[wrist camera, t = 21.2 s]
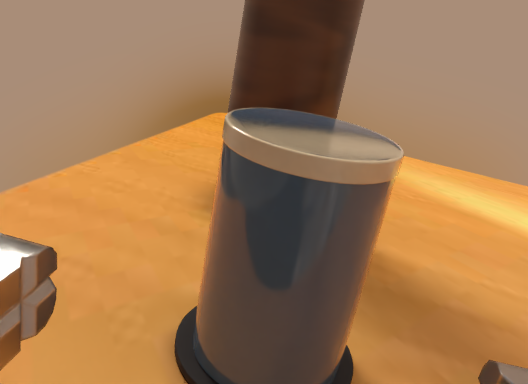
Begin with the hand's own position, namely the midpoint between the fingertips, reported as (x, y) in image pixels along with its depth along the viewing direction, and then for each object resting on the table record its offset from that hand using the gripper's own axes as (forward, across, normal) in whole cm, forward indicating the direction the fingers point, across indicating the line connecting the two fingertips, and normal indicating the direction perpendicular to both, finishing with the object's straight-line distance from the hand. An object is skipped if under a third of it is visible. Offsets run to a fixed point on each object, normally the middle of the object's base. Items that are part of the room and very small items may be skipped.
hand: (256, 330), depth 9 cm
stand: (+26, +3, +9) cm, 28 cm away
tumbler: (+10, 0, +8) cm, 13 cm away
